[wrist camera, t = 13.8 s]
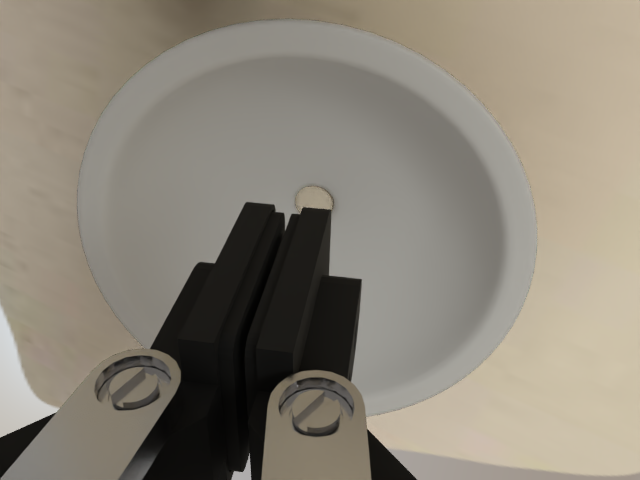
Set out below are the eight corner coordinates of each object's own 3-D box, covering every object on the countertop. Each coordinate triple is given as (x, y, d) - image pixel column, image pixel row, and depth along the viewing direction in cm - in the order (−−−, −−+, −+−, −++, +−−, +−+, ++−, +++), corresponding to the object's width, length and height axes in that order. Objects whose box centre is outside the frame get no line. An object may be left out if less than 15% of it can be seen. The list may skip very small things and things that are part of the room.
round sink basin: (256, 387, 46) (234, 458, 40) (47, 118, 36) (-19, 162, 31) (573, 282, 38) (602, 353, 32) (410, -103, 28) (411, -99, 22)
